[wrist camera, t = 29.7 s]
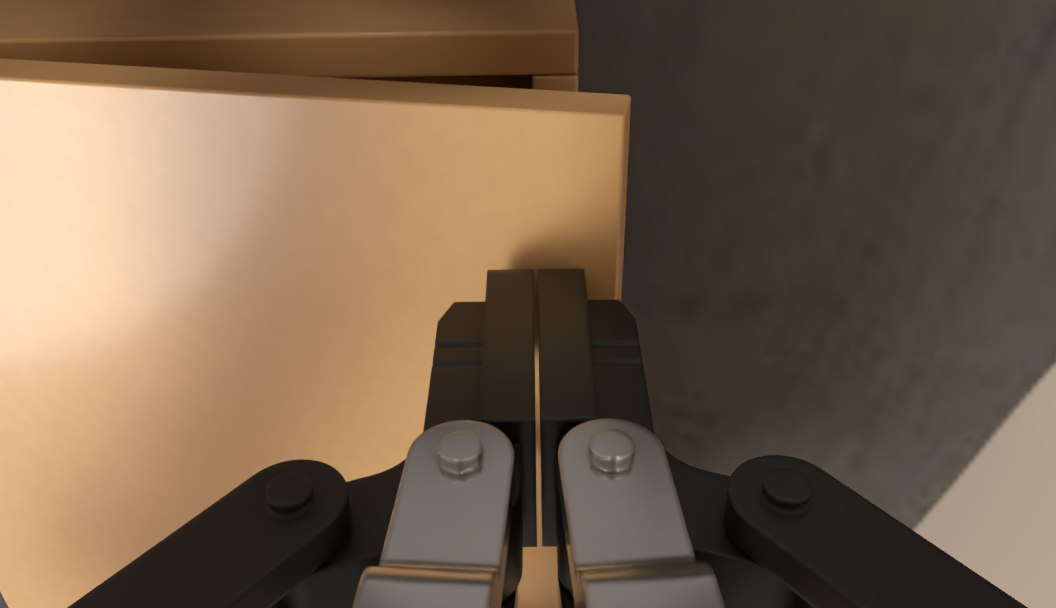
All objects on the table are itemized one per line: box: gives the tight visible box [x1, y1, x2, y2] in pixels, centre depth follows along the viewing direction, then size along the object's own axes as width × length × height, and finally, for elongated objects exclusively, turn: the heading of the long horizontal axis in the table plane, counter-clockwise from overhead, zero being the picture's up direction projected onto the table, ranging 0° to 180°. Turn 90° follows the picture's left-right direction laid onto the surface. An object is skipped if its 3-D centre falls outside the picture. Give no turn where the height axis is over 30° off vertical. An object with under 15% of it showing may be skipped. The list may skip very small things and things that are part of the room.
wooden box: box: [0, 0, 579, 92], centre depth 23 cm, size 14×18×5 cm
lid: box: [0, 59, 631, 608], centre depth 18 cm, size 14×18×5 cm
